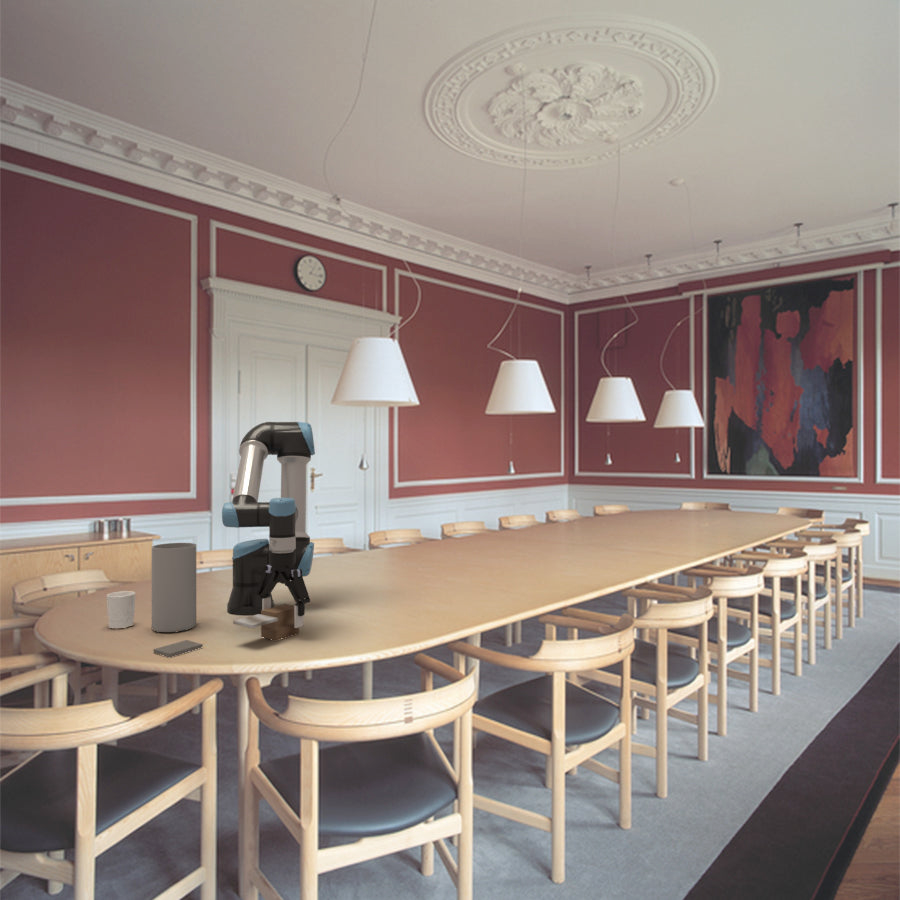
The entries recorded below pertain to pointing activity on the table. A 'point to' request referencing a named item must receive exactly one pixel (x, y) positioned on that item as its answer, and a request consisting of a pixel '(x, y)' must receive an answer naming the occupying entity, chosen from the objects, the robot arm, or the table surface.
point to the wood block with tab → (272, 622)
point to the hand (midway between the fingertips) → (282, 623)
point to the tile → (178, 648)
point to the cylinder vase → (173, 587)
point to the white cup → (121, 609)
